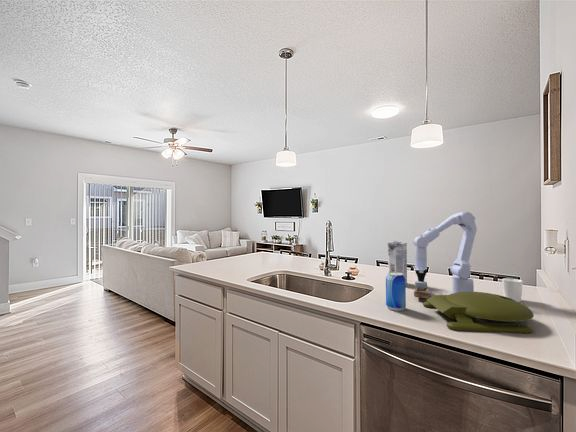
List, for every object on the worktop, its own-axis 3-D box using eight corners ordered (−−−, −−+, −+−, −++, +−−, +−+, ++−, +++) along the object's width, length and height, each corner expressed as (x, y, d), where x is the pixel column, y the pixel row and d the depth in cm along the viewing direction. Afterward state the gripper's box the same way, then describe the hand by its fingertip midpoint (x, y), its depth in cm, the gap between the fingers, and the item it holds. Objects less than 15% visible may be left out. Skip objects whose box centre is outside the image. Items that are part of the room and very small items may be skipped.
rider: (426, 288, 149) (426, 281, 149) (426, 290, 145) (426, 283, 145) (415, 287, 151) (415, 281, 151) (415, 289, 147) (415, 282, 147)
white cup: (519, 298, 140) (519, 279, 140) (525, 303, 133) (524, 282, 133) (500, 297, 144) (500, 277, 144) (504, 301, 137) (504, 280, 137)
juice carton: (409, 283, 173) (408, 240, 173) (398, 286, 167) (398, 241, 167) (396, 281, 180) (396, 239, 180) (386, 283, 174) (385, 240, 175)
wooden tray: (428, 291, 155) (427, 283, 155) (429, 302, 136) (429, 292, 136) (414, 290, 158) (414, 282, 158) (414, 300, 138) (413, 291, 138)
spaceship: (450, 332, 102) (449, 305, 102) (421, 305, 133) (421, 284, 133) (556, 336, 98) (556, 308, 98) (501, 308, 128) (501, 286, 128)
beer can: (396, 312, 122) (396, 276, 122) (382, 307, 129) (381, 272, 129) (409, 309, 126) (409, 274, 126) (394, 304, 133) (394, 271, 133)
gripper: (412, 256, 159) (413, 280, 159) (412, 260, 146) (412, 286, 146) (426, 257, 156) (427, 281, 156) (427, 261, 143) (427, 287, 143)
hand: (421, 283), depth 151 cm, fingers closed
